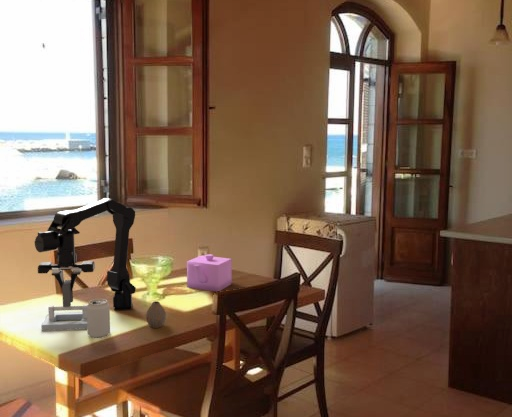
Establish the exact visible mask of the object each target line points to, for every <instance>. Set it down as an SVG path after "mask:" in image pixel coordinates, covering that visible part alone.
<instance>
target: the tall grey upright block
mask: <svg viewBox="0 0 512 417" xmlns="http://www.w3.org/2000/svg"><path fill="white" fill-rule="evenodd" d="M61 290H62V291H61V292H62V306H63V307H70V306H72V304H71V303H73V302H74V293H73V292H74V290H72V291H71V279H64V283H63V285H62V288H61Z"/></svg>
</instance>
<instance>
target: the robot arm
mask: <svg viewBox="0 0 512 417" xmlns="http://www.w3.org/2000/svg"><path fill="white" fill-rule="evenodd" d="M105 212H107V213H109V214H110V215H112V222H113V224H114V227H115V238H114V239H115V240H114V253H113V254H114V255H113V266H112V268H110V270H107V271H106V280H105V281H106V283H107V286H108V287H109V289H110V290H111V292H114V295H113V297H112V298H113V299H112V302H113V303H112V304H113V305H112V306H113V310H114V311H128V310H130V311H131V310H133V300H132V299H133V298H132V297H133V295H134V294H135V293H136V289H137V288H136V286H135V285H134V284H132V283H131V276H130V273H129V271H128V270H129V269H128V267H127V265H128V252H129V237H130V231H131V228H132V227H133V225H134V223H135V218H136V211H135V210H134V208H133V207H130V206H125V205H124V204H122V203H119V202H117V201H116V200H114V199H113V198H108V197H103V198H101V199H100V200H98V201H95V202H92V203H90V204H87V205H84V206H82V207H79V208H76V209H69V210H63V211H57V212H56V213H55V214H54V217H53V220H52V221H51V223H50V225H49V227H48V228H47V231H38V232H37V235H36V237H35V240H34V248H35V250H36V251H37V252H38V253H45V252H46V253H47V252H50V251H56V250H57V251H56V255H55V257H56V260H57V264H53V261H42V262H40V263H39V265H38V266H37V274H48V272H50V271H51V276H53V277H55V279H56V281H57V282H58V285H60V288H61V289H62V285H63V283H64V282H65V279H64V272H63V271H65V270H66V271H67V270H68V271H69V270H70V271H72V272H71V274H70V280H71V291H72V290H73V289H74V286H75V282H76V279H77V277H78V276H80V275H81V273H82V272H83V273H93V272H94V271H95V269H96V263H95V261H94V260H87V261H86V260H84V261H82V263H77V261H78V260H77V259H78V258H77V257H78V255H77V253H76V252H75V235H79V234H80V233H81V232H80V231H79V230H78V229H76V227H77V226H79V225H80V224H81V223H82V222H83V221H85V220H87V219H89V218H92V217H94V216H97V215H100V214H102V213H105ZM73 291H74V290H73Z"/></svg>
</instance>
